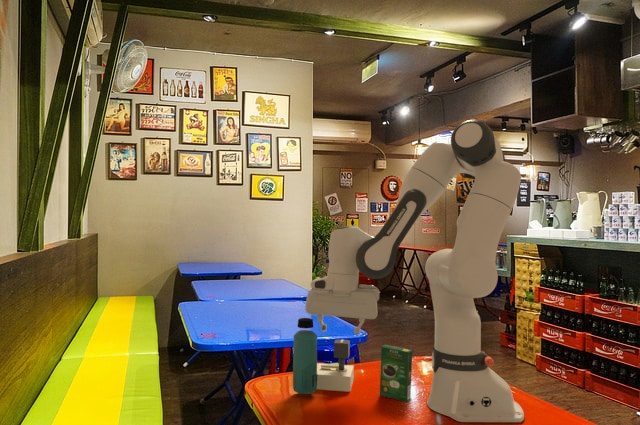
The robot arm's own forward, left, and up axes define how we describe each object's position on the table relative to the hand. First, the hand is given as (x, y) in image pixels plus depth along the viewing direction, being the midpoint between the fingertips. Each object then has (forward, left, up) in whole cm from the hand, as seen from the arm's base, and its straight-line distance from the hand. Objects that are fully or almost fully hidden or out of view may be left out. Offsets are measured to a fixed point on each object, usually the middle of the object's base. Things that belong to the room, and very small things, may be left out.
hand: (340, 332), depth 133 cm
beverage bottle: (+8, +10, -15) cm, 20 cm away
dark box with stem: (+1, 0, -10) cm, 10 cm away
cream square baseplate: (+2, 0, -15) cm, 15 cm away
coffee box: (-16, +7, -15) cm, 23 cm away
